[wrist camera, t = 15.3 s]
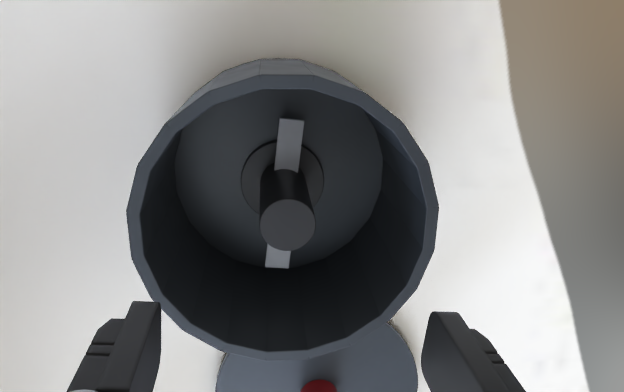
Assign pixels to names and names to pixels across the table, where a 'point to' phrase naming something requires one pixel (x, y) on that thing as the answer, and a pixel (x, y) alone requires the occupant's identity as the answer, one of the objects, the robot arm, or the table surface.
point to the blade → (283, 191)
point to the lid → (328, 369)
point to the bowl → (245, 221)
